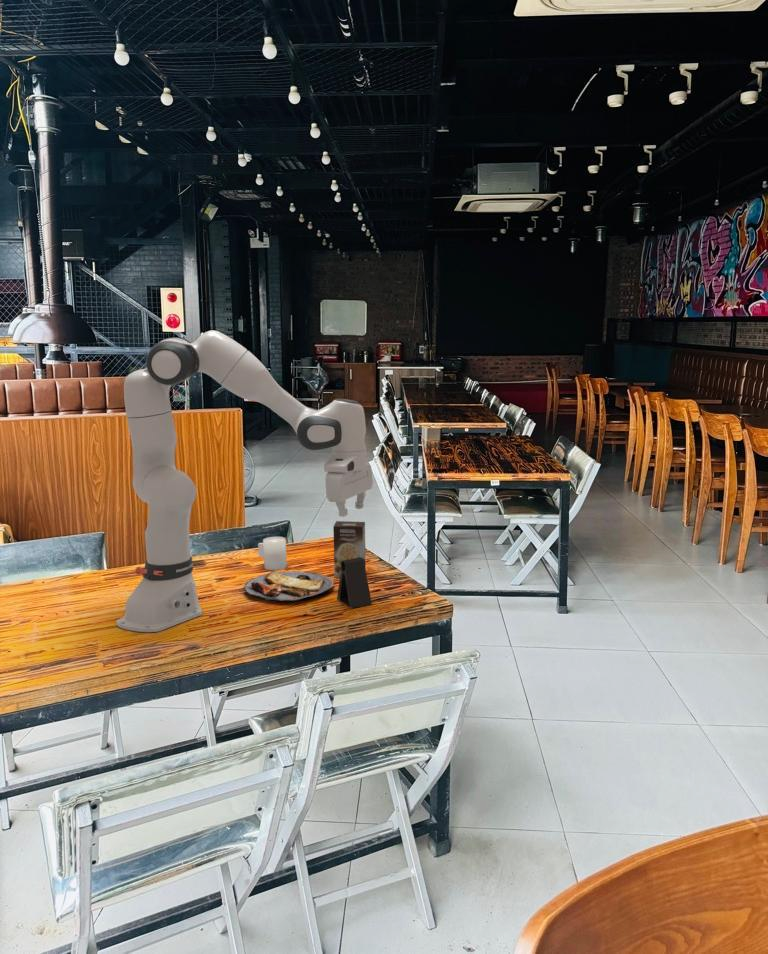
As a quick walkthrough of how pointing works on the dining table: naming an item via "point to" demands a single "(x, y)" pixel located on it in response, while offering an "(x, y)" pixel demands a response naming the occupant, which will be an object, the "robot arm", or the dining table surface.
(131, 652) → the dining table surface
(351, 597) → the door stopper
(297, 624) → the dining table surface
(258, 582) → the food plate
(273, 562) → the white ceramic cup
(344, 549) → the coffee box
